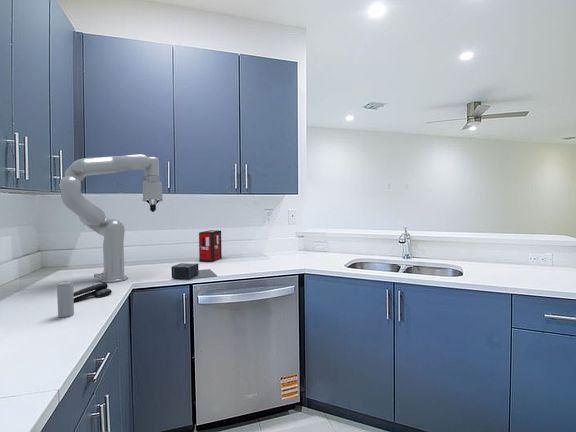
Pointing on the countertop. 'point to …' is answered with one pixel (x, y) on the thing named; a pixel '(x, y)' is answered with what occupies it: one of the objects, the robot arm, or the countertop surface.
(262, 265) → the countertop surface
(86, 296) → the can opener
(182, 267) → the small box
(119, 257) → the robot arm
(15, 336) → the countertop surface
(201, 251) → the cleaning product box
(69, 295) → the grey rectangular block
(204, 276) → the mat
